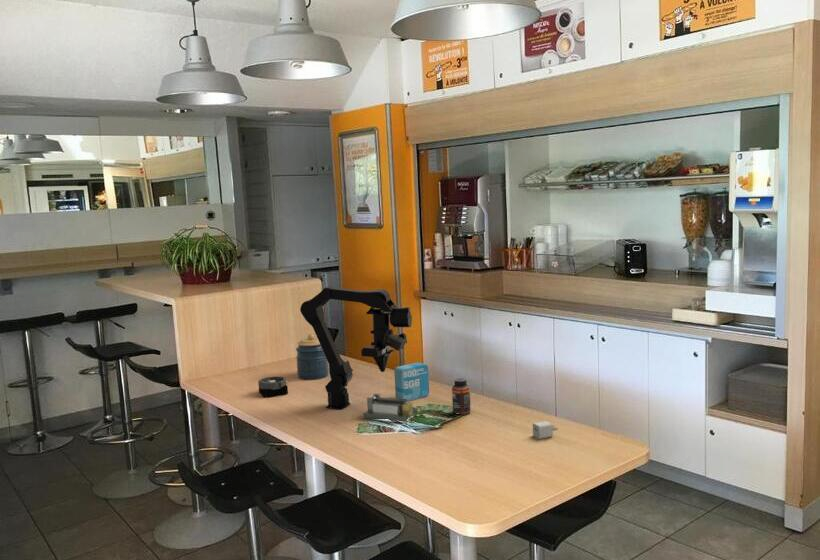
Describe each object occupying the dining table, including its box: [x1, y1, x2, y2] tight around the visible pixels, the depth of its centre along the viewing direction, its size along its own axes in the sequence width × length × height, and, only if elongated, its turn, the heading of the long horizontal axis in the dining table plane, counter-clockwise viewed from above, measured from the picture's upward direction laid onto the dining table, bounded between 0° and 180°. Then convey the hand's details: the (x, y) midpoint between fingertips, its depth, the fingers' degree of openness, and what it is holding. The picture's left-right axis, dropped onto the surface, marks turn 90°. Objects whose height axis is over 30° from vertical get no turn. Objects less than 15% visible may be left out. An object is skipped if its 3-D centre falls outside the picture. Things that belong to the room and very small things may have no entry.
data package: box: [394, 362, 430, 402], centre depth 255 cm, size 12×4×12 cm, turn 125°
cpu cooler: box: [257, 375, 289, 399], centre depth 269 cm, size 10×6×10 cm
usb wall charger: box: [532, 420, 559, 440], centre depth 211 cm, size 4×7×4 cm, turn 110°
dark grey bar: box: [371, 395, 408, 403], centre depth 235 cm, size 13×3×2 cm, turn 65°
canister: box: [295, 333, 330, 380], centre depth 292 cm, size 13×13×18 cm
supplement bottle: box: [451, 377, 472, 416], centre depth 236 cm, size 6×6×11 cm
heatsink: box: [362, 393, 418, 421], centre depth 235 cm, size 15×10×6 cm, turn 65°
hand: (382, 371), depth 244 cm, fingers closed
